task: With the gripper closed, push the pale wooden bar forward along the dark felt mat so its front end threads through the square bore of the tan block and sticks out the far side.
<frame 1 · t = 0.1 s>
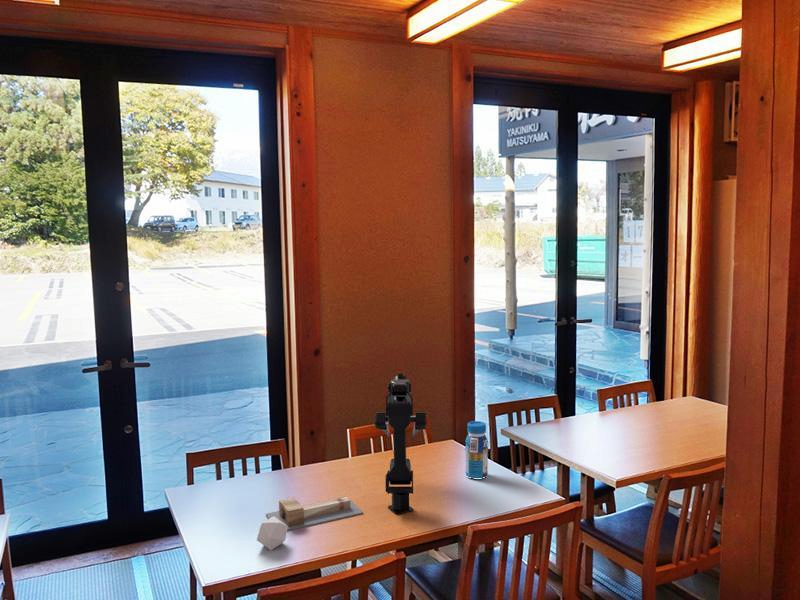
hand: (401, 435, 244), 15 cm above the table, tool tilted 35°, fingers open, 9 cm apart
die: (272, 546, 191), on the table
tan block: (291, 519, 207), resting on felt mat
beverage bottle: (476, 476, 243), on the table
felt mat: (314, 514, 211), on the table
pale wooden bar: (322, 508, 211), point 2 cm above the table, slide at 0.0 cm
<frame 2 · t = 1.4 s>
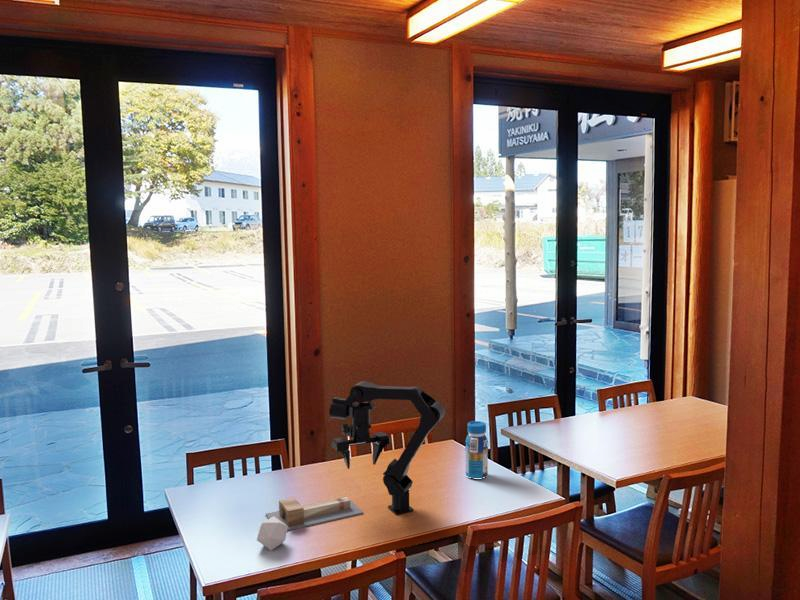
hand: (361, 466, 218), 13 cm above the table, tool pointing down, fingers open, 9 cm apart
nothing on the table moved.
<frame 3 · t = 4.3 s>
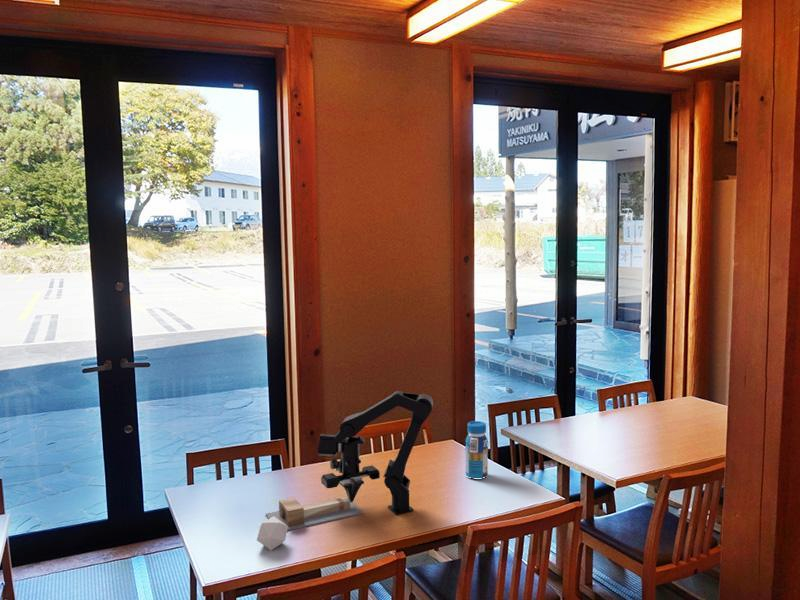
hand: (351, 501, 216), 2 cm above the table, tool pointing down, fingers closed
pale wooden bar: (322, 508, 211), point 2 cm above the table, slide at 0.1 cm, touching gripper
everything else where it was.
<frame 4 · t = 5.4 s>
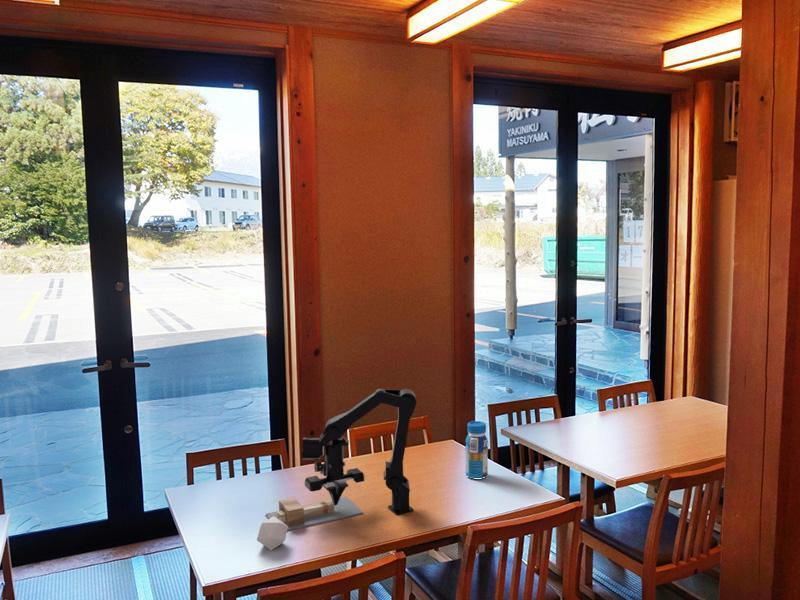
hand: (335, 504, 213), 2 cm above the table, tool pointing down, fingers closed
pale wooden bar: (306, 511, 209), point 2 cm above the table, slide at 5.6 cm, touching gripper
everything else where it was.
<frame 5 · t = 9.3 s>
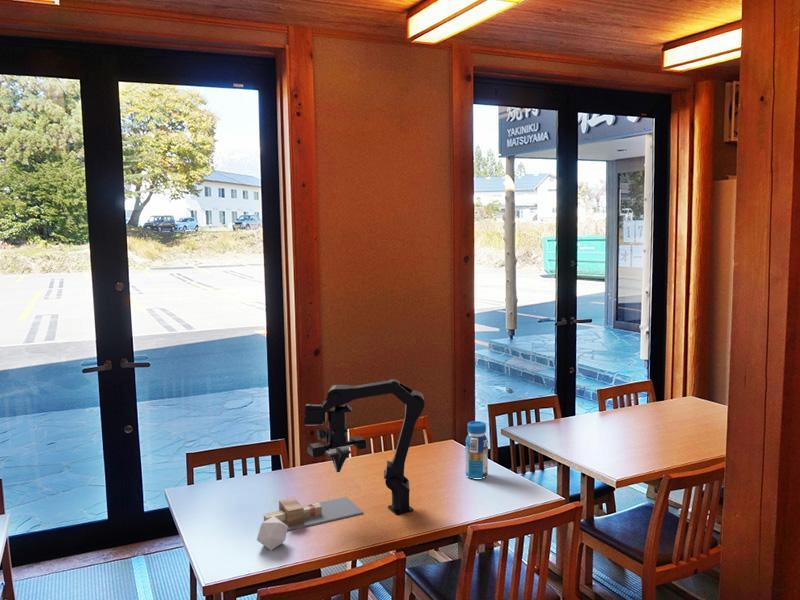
hand: (338, 471, 213), 13 cm above the table, tool pointing down, fingers closed
pale wooden bar: (293, 514, 207), point 2 cm above the table, slide at 9.9 cm
everything else where it was.
at the end: pale wooden bar slide at 9.9 cm; pale wooden bar 0.2 cm off-centre on the tan block, point 1.4 cm above the tan block's base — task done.
